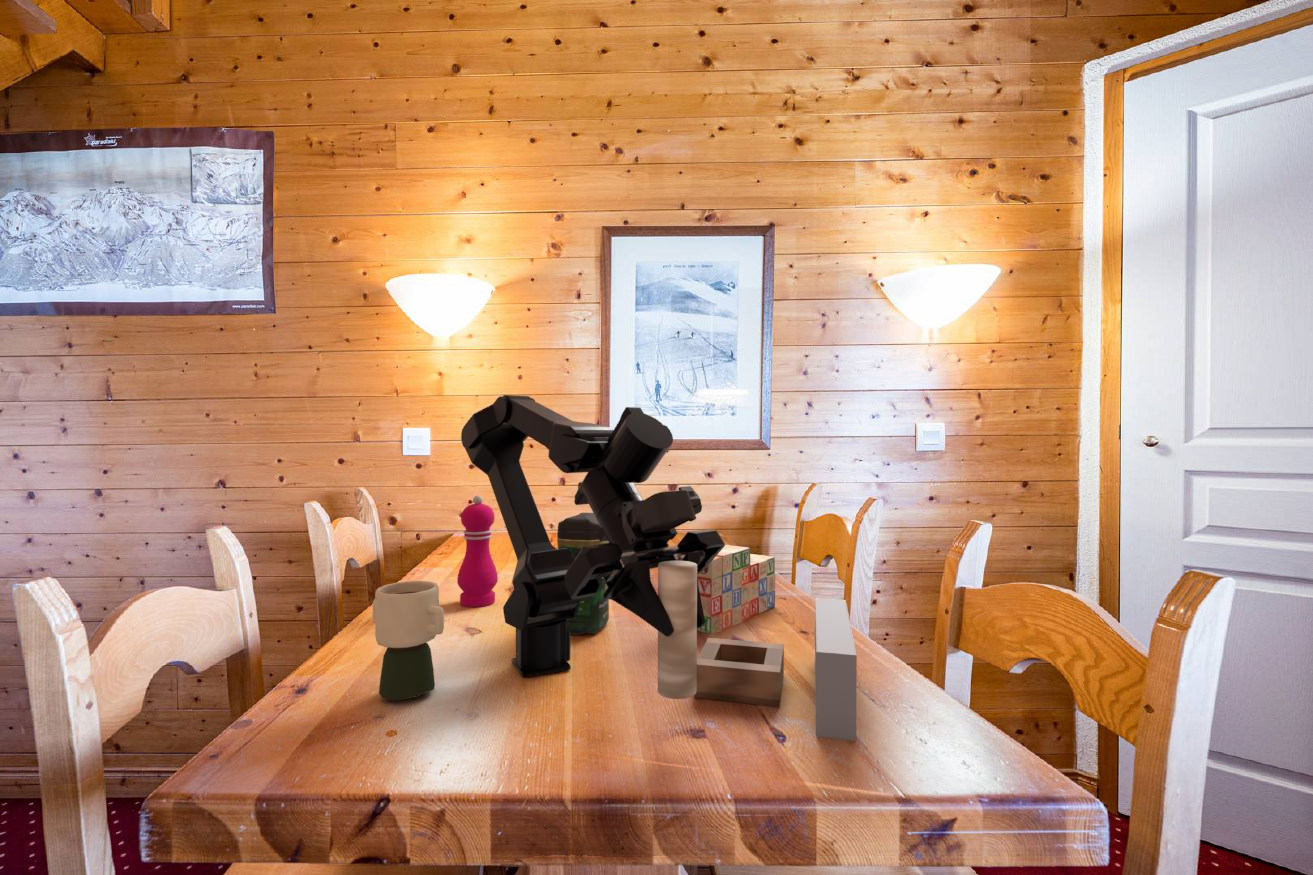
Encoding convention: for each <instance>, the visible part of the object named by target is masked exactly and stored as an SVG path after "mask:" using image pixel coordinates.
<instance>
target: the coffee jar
mask: <svg viewBox="0 0 1313 875" xmlns="http://www.w3.org/2000/svg"><path fill="white" fill-rule="evenodd" d="M557 524H558V525H557V535H556V537H557V538H556V541H557V549H563V548H567V549H568V550H569V551H570V552H571V554H572V557H573V561H574V560H575V558H576V557H577V555H578V554H579V552H580V551H581V549H582V548H583V546H590V545H598V544H605V543H609V542H608V541H602V542H600V541H599V539H598V537H597V533H598V532H599V530H600V529H601V527H600V525H599V523H598V521H597V519H596V517H595V515H594V513H593V512H580V513H578V514H576V515H573V516H570V517H565V518H564V519H563V520H560V522H558V523H557ZM596 579H597V581H598V583H599V587H598V590H597V592H596V594H595V595H594V596H590V597H585V598H581V600H580V604H579V608H578V612H577V617H576V618H575V619H568V620H566V621H567V629H568V630H569V631H570V635H574V636H575V635H578V636H579V635H583V634H590V633H591V634H594V633H598V632H599V631H600V630H602V629H603V628H605V626H606V624H607V623H608V622H609V619H610V613H609V612H610V607H609V606H610V599H609V600H605V599H604V597H603V594H604V593H605V591H606V590H607V589H608V586H607V584H606V581H605V579H604V577H602V578H596Z"/></svg>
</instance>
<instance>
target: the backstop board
mask: <svg viewBox="0 0 1313 875" xmlns="http://www.w3.org/2000/svg"><path fill="white" fill-rule="evenodd" d="M814 602H815V605H814V606H815V610H814V614H815V616H814V617H815V618H814V620H815V621H814V632H815V633H814V682H815V683H814V684H815V685H814V686H815V688H814V689H815V693H814V694H815V696H814V697H815V698H814V699H815V703H814V704H815V737H819V738H828V739H836V740H843V741H852V742H857V669H858V668H857V667H858V666H857V663H858V662H857V661H858V658H857V657H858V655H857V650H856V645H855V640H854V636H853V630H852V625H851V622H850V621H851V620H850V615H849V610H848V605H847V599H837V598H821V597H815V601H814Z"/></svg>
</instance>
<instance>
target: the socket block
mask: <svg viewBox="0 0 1313 875" xmlns="http://www.w3.org/2000/svg"><path fill="white" fill-rule="evenodd" d="M784 658H785V644H784V643H774V642H765V641H764V642H763V641H751V640H740V639H727V638H715V637H707V639H706V642H705V643H704V645H703V647H702V649H701V651H700V653H699V655H698V656H697V692H696V694H695V695H694V699H701V700H702V699H703V700H710V701H711V700H712V701H719V702H720V701H722V702H728V703H729V702H731V703H740V704H750V705H757V706H758V705H759V706H767V707H776V708H780V707H781V700H782V699H781V698H782V691H783V683H784V677H785V676H784V674H785V673H784V671H785V663H784V662H785V660H784Z"/></svg>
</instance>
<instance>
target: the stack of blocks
mask: <svg viewBox="0 0 1313 875" xmlns="http://www.w3.org/2000/svg"><path fill="white" fill-rule="evenodd" d="M775 563H776V561H775V556H770V555H762V554H754V553H751V548H750V547H747V546H738V545H730V544H725V546H724V548H723V549H722V550H721V551H720V552H719V553H718V554H717V556H716V557H715V558H714V559H713V560H712V561H711V563H710V564H709V565H708V566H707V567H706V568H705V569H704V571H703V572H701V573H699V574H698V575H697V577H698V586H699V592H700V597H701V602H702V607H703V612H704V618H705V623H704V625H703V626H702V627H700V628H697V632H702V633H704V634H709V635H713V634H715V633H721V632H723V631H725V630H728V629H730V628H732V627H735V626H737V625H738V624H742V622H744V621H747V620H748V619H750V618H752V617H754V616H757V615H759V614H762V613H763V612H766V611H769V610H770V609H773V608H774V607H775V606H776V574H775V570H776V568H775Z"/></svg>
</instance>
